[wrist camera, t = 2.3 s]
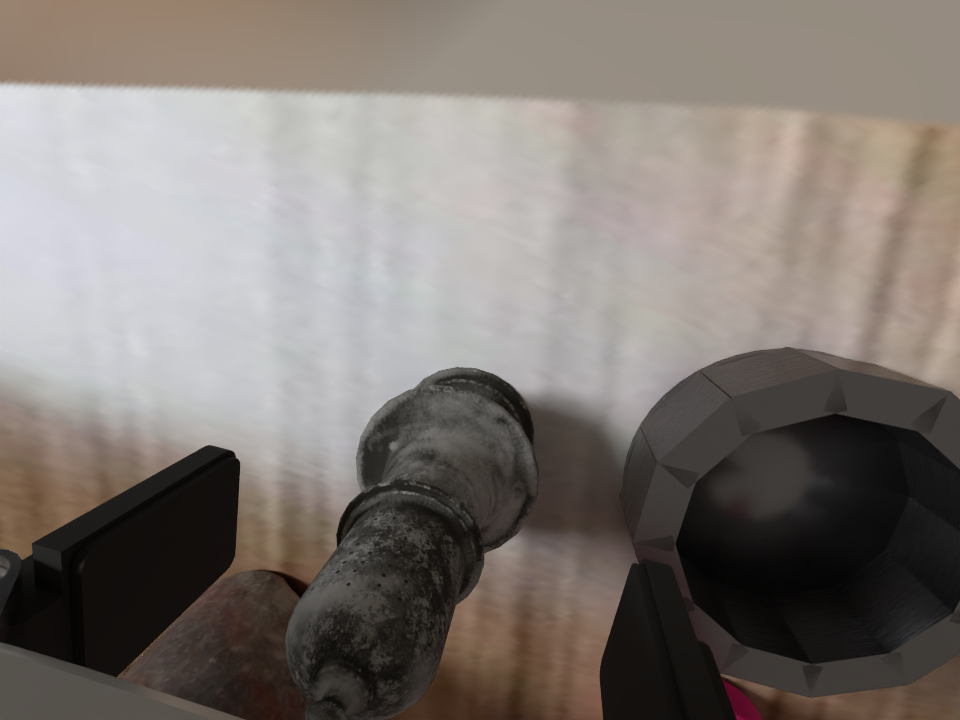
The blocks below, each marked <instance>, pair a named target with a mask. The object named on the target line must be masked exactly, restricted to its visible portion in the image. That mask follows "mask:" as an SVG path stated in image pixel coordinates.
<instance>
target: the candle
mask: <svg viewBox="0 0 960 720" xmlns="http://www.w3.org/2000/svg"><path fill="white" fill-rule="evenodd" d="M300 599H301V598H300V597H299V596H298V595H297V594H296V592H294V591H293V590H292V589H291V588H290V587H289V586H288V583H287V582H286V580H285V579H284V578H282V577H280V576H278V575H276V574H274V573H272V572H267V571H247V572H243V573H239V574H235V575H233V576H231V577H228V578H224V579H222V580H219V581H217V582H216V583H215V584H213V585H212V586H210V587H209V588H208V589H207V590H206V591H205V592H204V593H203V594H202V595H201V596H200V597H199V599H198V600H197V601H196V602H195V603H194V604H193V605H192V606H191V607H190V608H189V609H188V610H187V611H186V612H185V613H184V614H183V615H182V616H181V617H180V618H179V619H178V620H177V621H176V622H175V623H174V624H173V625H172V626H171V627H170V628H169V629H168V630H167V631H166V632H165V633H164V635H163V636H162V637H161V638H160V639H159V640H158V641H156V642H155V643H154V645H153V646H152V647H151V648H150V649H149V650H148V651H147V652H146V653H145V654H144V655H143V656H142V657H141V658H140V659H139V660H138V661H137V662H136V663H135V664H134V665H133V666H132V668H131V669H130V670H129V671H128V672H127V673H126V674H125V675H124V676H123V677H122V678H121V679H123V680H126V681H129V682H132V683H135V684H138V685H141V686H144V687H147V688H150V689H153V690H156V691H160V692H163V693H166V694H169V695H172V696H175V697H178V698H181V699H184V700H187V701H190V702H193V703H197V704H200V705H203V706H206V707H209V708H212V709H215V710H218V711H221V712H224V713H227V714H230V715H233V716H236V717H239V718H242V719H245V720H306V717H305V711H306V710H307V708H308V707H309V705H310V704H311V703H312V702H310V701H309V700H308V699H307V698H306V697H305V696H304V695H303V694H302V693H301V691H300V690H299V688H298V687H297V685H296V684H295V682H294V681H293V678H292V676H291V673H290V670H289V668H288V661H287V653H286V641H285V637H286V632H287V628H288V623H289V621H290V618H291V616H292V613H293V611H294V609H295V607H296V605H297V604H298V602H299V600H300Z"/></svg>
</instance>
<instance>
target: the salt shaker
mask: <svg viewBox="0 0 960 720" xmlns="http://www.w3.org/2000/svg"><path fill="white" fill-rule="evenodd" d="M533 433H534V429H533V425H532V421H531V417H530V413H529V411H528V409H527V407H526V405H525V404H524V402H523V400H522V398H521V397H520V396H519V394H518V393H517V392H516V391H515V390H514V389H513V388H512V387H511V386H510V385H509V384H508V383H506V382H505V381H503V380H501V379H500V378H498V377H497V376H495V375H493V374H491V373H488V372H485V371H482V370H479V369H475V368H459V367H456V368H451V369H446V370H442V371H438V372H436V373H435V374H433V375H431V376H429V377H427V378H425V379H423V380H422V381H421V382H420V383H419V384H418V385H417V386H416V387H415V388H414V389H412V390H408V391H406V392H404V393H403V394H401V395H399V396H397V397H395V398H393V399H391V400H389V401H388V402H387V403H386V404H385V405H384V406H383V407H382V408H381V409H380V410H379V411H377V412H376V413H375V414H374V415H373V416H372V417H371V419H370V421H369V423H368V424H367V426H366V428H365V430H364V432H363V433H362V435H361V438H360V442H359V447H358V451H357V456H356V465H357V480H358V483H359V486H360V489H361V493H360V494H359V495H358V496H357V497H356V498H354V499H353V500H352V501H351V502H350V503H349V505H348V506H347V508H346V510H345V511H344V513H343V515H342V516H341V518H340V522H339V526H338V530H337V534H336V535H337V549H336V550H335V551H334V553H333V554H332V556H331V557H330V558H329V560H328V561H327V562H326V564H325V565H324V567H323V568H322V569H321V571H320V572H319V573H318V575H317V576H316V578H315V579H314V580H313V582H312V583H311V584H310V586H309V587H308V589H307V590H306V591H305V593H304V594H303V595H302V597H301V599H300V600H299V602H298V604H297V605H296V607H295V609H294V611H293V613H292V616H291V618H290V621H289V623H288V628H287V632H286V637H285V641H286V653H287V661H288V668H289V670H290V673H291V676H292V678H293V681H294V682H295V684H296V685H297V687H298V688H299V690H300V691H301V693H302V694H303V695H304V696H305V697H306V698H307V699H308V700H309V701H310V702H312V703H311V704H310V705H309V707H308V708H307V710H306V711H305V717H306V720H386V719H390V718H393V717H395V716H396V715H398V714H400V713H402V712H403V711H405V710H407V709H408V708H409V707H411V706H412V705H414V704H415V703H417V702H418V701H419V700H420V698H421V697H422V696H423V695H424V693H425V692H426V691H427V689H428V688H429V686H430V684H431V683H432V681H433V679H434V677H435V675H436V672H437V669H438V666H439V663H440V660H441V656H442V653H443V649H444V646H445V642H446V638H447V635H448V631H449V628H450V624H451V620H452V617H453V613H454V610H455V606H456V605H457V604H458V603H460V602H461V601H462V600H464V599H465V598H466V597H468V595H469V594H470V593H471V591H472V590H473V589H474V587H475V586H476V585H477V583H478V581H479V578H480V575H481V572H482V570H483V567H484V553H486V552H489V551H491V550H494V549H496V548H498V547H500V546H502V545H503V544H504V543H506V542H507V541H508V540H509V539H511V538H512V537H513V536H515V535H516V534H517V533H518V532H519V530H520V529H521V528H522V526H523V525H524V524H525V522H526V521H527V519H528V518H529V517H530V515H531V512H532V509H533V506H534V503H535V500H536V498H537V494H538V473H539V470H538V466H537V462H536V458H535V454H534V449H533Z"/></svg>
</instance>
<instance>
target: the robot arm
mask: <svg viewBox="0 0 960 720" xmlns="http://www.w3.org/2000/svg"><path fill="white" fill-rule="evenodd" d="M239 477H240V461H239V460H238V459H237V458H236V456H235V453H234V452H233V451H231V450H227V449H223V448H219V447H215V446H211V445H208V446H205V447H203V448H201V449H200V450H198V451H196V452H194V453H192V454H191V455H189V456H187V457H185V458H183V459H182V460H180V461H178V462H176V463H175V464H173V465H171V466H169V467H167V468H166V469H164V470H162V471H160V472H158V473H157V474H155V475H153V476H151V477H150V478H148V479H146V480H144V481H142V482H141V483H139V484H137V485H135V486H133V487H132V488H130V489H128V490H126V491H125V492H123V493H121V494H119V495H117V496H116V497H114V498H112V499H110V500H108V501H107V502H105V503H103V504H101V505H100V506H98V507H96V508H94V509H92V510H91V511H89V512H87V513H85V514H83V515H82V516H80V517H78V518H76V519H75V520H73V521H71V522H69V523H67V524H66V525H64V526H62V527H60V528H58V529H57V530H55V531H53V532H51V533H50V534H48V535H46V536H44V537H42V538H41V539H39V540H37V541H35V542H33V543H32V550H33V554H32V555H30V556H29V557H27V558H25V559H24V560H22V559H21V558H20V556H19V555H18V554H17V553H15V552H12V551H10V550H6V549H0V720H245V719H242V718H239V717H236V716H233V715H230V714H227V713H224V712H221V711H218V710H215V709H212V708H209V707H206V706H203V705H200V704H197V703H193V702H190V701H187V700H184V699H181V698H178V697H175V696H172V695H169V694H166V693H163V692H160V691H156V690H153V689H150V688H147V687H144V686H141V685H138V684H135V683H132V682H129V681H126V680H123V679H120V678H116V677H117V676H118V675H119V674H120V673H121V672H122V671H123V670H124V669H125V668H126V667H127V666H128V665H129V664H130V663H131V662H132V661H134V660H135V659H136V658H137V657H138V656H139V655H140V654H141V653H142V652H143V651H144V650H145V649H146V648H147V647H148V646H149V645H150V644H151V643H152V642H153V641H154V640H155V639H156V638H157V637H158V636H159V635H160V634H161V633H162V632H164V631H165V630H166V629H167V628H168V627H169V626H170V625H171V624H172V623H173V622H174V621H175V620H176V619H177V618H178V617H179V616H180V615H181V614H182V613H183V612H184V611H185V610H186V609H187V608H188V607H189V606H190V605H191V604H193V603H194V602H195V601H196V600H197V599H198V598H199V597H200V596H201V595H202V594H203V593H204V592H205V591H206V590H207V589H208V588H209V587H210V586H211V585H212V584H213V583H214V582H215V581H216V580H217V579H218V578H219V577H220V576H221V575H223V574H224V573H225V572H226V571H227V569H228V568H229V567H230V565H231V564H232V562H233V560H234V557H235V549H236V531H237V513H238V495H239ZM600 687H601V699H602V710H603V720H737V718H736V715H735V713H734V710H733V707H732V705H731V702H730V699H729V697H728V694H727V691H726V688H725V686H724V683H723V680H722V678H721V675H720V672H719V670H718V667H717V664H716V661H715V659H714V656H713V653H712V651H711V649H710V647H709V646H708V645H707V644H706V643H705V642H702V641H698V640H697V637H696V634H695V632H694V629H693V626H692V623H691V620H690V617H689V614H688V611H687V608H686V605H685V603H684V600H683V597H682V594H681V591H680V588H679V585H678V582H677V579H676V576H675V573H674V571H673V568H672V566H670V565H667V564H663V563H660V562H656V561H652V560H648V559H643V560H642V561H641V563H640V564H636V563H633V564H632V565H631V568H630V571H629V574H628V577H627V580H626V584H625V587H624V590H623V593H622V596H621V600H620V603H619V606H618V609H617V612H616V616H615V619H614V622H613V625H612V628H611V632H610V635H609V638H608V641H607V644H606V648H605V651H604V654H603V657H602V661H601V666H600Z"/></svg>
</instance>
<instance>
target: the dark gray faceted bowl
mask: <svg viewBox="0 0 960 720" xmlns="http://www.w3.org/2000/svg"><path fill="white" fill-rule="evenodd" d="M620 498H621V502H622V505H623V509H624V513H625V517H626V520H627V524H628V528H629V532H630V536H631V539H632V543H633V546H634V549H635V552H636V556H637V559H638V562H639V564H640V563H641V561H642V560H643V559H648V560H652V561H656V562H660V563H663V564H667V565H670V566H672V568H673V571H674V573H675V576H676V579H677V582H678V585H679V588H680V591H681V594H682V597H683V600H684V603H685V605H686V608H687V611H688V614H689V617H690V620H691V623H692V626H693V629H694V632H695V634H696V637H697V640H698V641H702V642H705V643H706V644H707V645H708V646H709V647H710V649H711V651H712V653H713V656H714V659H715V661H716V664H717V667H718V670H719V672H720V673H721V674H725V675H729V676H732V677H736V678H740V679H743V680H747V681H751V682H754V683H758V684H762V685H765V686H769V687H773V688H776V689H780V690H784V691H787V692H791V693H795V694H798V695H802V696H805V697H810V698H811V697H819V696H827V695H835V694H842V693H850V692H858V691H866V690H873V689H881V688H889V687H897V686H904V685H908V684H911V683H913V682H914V681H916V680H918V679H919V678H921V677H923V676H924V675H926V674H928V673H929V672H931V671H933V670H934V669H936V668H938V667H939V666H941V665H943V664H944V663H946V662H947V661H949V660H951V659H952V658H954V657H956V656H957V655H959V654H960V400H959V399H958V398H957V397H956V396H955V395H954V394H953V393H952V392H950V391H948V390H945V389H942V388H939V387H937V386H934V385H931V384H928V383H925V382H923V381H920V380H917V379H914V378H912V377H909V376H906V375H903V374H900V373H898V372H895V371H892V370H889V369H887V368H884V367H881V366H878V365H875V364H870V363H865V362H860V361H855V360H850V359H845V358H842V357H839V356H835V355H831V354H827V353H824V352H819V351H811V350H804V349H795V348H790V347H785V348H781V349H769V350H759V351H753V352H749V353H744V354H740V355H735V356H732V357H729V358H727V359H724V360H721V361H718V362H715V363H713V364H711V365H709V366H707V367H705V368H703V369H701V370H699V371H697V372H695V373H694V374H692V375H690V376H689V377H687V378H686V379H684V380H683V381H681V382H680V383H678V384H677V385H676V386H675V387H673V388H672V389H671V390H670V391H669V392H667V393H666V394H665V395H664V396H663V397H662V398H661V399H660V400H659V401H658V402H657V404H656V405H655V406H654V407H653V408H652V409H651V410H650V412H649V413H648V415H647V416H646V417H645V419H644V420H643V421H642V423H641V425H640V427H639V428H638V430H637V432H636V434H635V436H634V438H633V440H632V443H631V446H630V448H629V451H628V454H627V458H626V462H625V467H624V474H623V486H622V490H621V493H620Z"/></svg>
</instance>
